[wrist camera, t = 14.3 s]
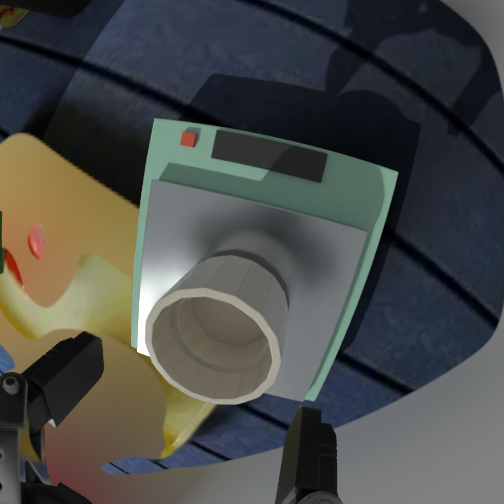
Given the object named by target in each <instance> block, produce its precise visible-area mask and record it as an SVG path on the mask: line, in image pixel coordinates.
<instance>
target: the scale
mask: <svg viewBox="0 0 504 504" xmlns="http://www.w3.org/2000/svg"><path fill="white" fill-rule="evenodd" d="M397 177H398V172H397V171H394V170H391V169H388V168H385V167H382V166H379V165H376V164H373V163H370V162H367V161H363V160H360V159H357V158H353V157H350V156H347V155H343V154H340V153H336V152H332V151H329V150H325V149H321V148H318V147H314V146H310V145H306V144H302V143H298V142H293V141H289V140H285V139H280V138H276V137H271V136H266V135H262V134H257V133H252V132H247V131H241V130H236V129H230V128H224V127H218V126H212V125H206V124H199V123H192V122H185V121H177V120H169V119H160V118H155V120H154V124H153V129H152V134H151V140H150V145H149V151H148V156H147V162H146V168H145V174H144V181H143V188H142V195H141V202H140V210H139V219H138V228H137V237H136V248H135V260H134V275H133V292H132V319H131V346H132V347H134V348H137V349H138V315H139V295H140V279H141V266H142V255H143V245H144V235H145V226H146V218H147V210H148V203H149V196H150V189H151V182H152V179H158V178H159V179H164V180H169V181H174V182H178V183H183V184H188V185H193V186H197V187H202V188H207V189H211V190H216V191H220V192H224V193H229V194H233V195H238V196H242V197H246V198H250V199H254V200H259V201H263V202H267V203H271V204H275V205H279V206H283V207H287V208H291V209H295V210H298V211H302V212H306V213H310V214H314V215H317V216H321V217H325V218H328V219H332V220H336V221H339V222H343V223H347V224H350V225H354V226H357V227H361V228H364V229H366V230H367V232H368V234H367V238H366V241H365V244H364V247H363V251H362V254H361V257H360V260H359V263H358V266H357V269H356V272H355V275H354V278H353V281H352V283H351V286H350V289H349V292H348V295H347V297H346V300H345V303H344V306H343V308H342V311H341V314H340V316H339V319H338V321H337V324H336V327H335V329H334V332H333V334H332V337H331V339H330V342H329V344H328V347H327V349H326V351H325V354H324V356H323V358H322V361H321V363H320V365H319V368H318V370H317V372H316V375H315V377H314V379H313V381H312V384H311V386H310V388H309V390H308V392H307V394H306V397H305V399H306V400H310V401H315V400H316V398H317V396H318V393H319V391H320V389H321V387H322V385H323V383H324V381H325V379H326V377H327V375H328V372H329V370H330V368H331V366H332V364H333V361H334V359H335V357H336V355H337V352H338V350H339V348H340V346H341V343H342V341H343V338H344V336H345V334H346V331H347V329H348V326H349V324H350V322H351V319H352V316H353V314H354V311H355V309H356V306H357V304H358V301H359V298H360V296H361V293H362V290H363V288H364V285H365V282H366V279H367V276H368V274H369V271H370V268H371V265H372V262H373V259H374V256H375V253H376V250H377V247H378V244H379V241H380V237H381V234H382V231H383V228H384V224H385V221H386V217H387V214H388V211H389V207H390V203H391V200H392V196H393V192H394V188H395V185H396V181H397Z"/></svg>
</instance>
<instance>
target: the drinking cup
mask: <svg viewBox="0 0 504 504" xmlns="http://www.w3.org/2000/svg"><path fill="white" fill-rule="evenodd" d="M89 1H90V0H0V5H4V6H10V7H15V8H21V9H26V10H30V11H35V12H39V13H43V14H48V15H52V16H55V17H59V18H63V19H66V18H70V17H72V16H74V15H76V14H77V13H78V12H80V11H81V10H82V9H83V8H84V7H85V6H86V5H87V4H88V2H89Z"/></svg>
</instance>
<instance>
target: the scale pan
mask: <svg viewBox="0 0 504 504" xmlns="http://www.w3.org/2000/svg"><path fill="white" fill-rule="evenodd" d="M367 234H368V232H367V230H366V229H364V228H361V227H357V226H354V225H350V224H347V223H343V222H339V221H336V220H332V219H328V218H325V217H321V216H317V215H314V214H310V213H306V212H302V211H298V210H295V209H291V208H287V207H283V206H279V205H275V204H271V203H267V202H263V201H259V200H254V199H250V198H246V197H242V196H238V195H233V194H229V193H224V192H220V191H216V190H211V189H207V188H202V187H197V186H193V185H188V184H183V183H178V182H174V181H169V180H164V179H159V178H158V179H152V182H151V189H150V196H149V203H148V210H147V218H146V226H145V235H144V245H143V255H142V266H141V279H140V295H139V315H138V352H139V353H142V354H144V355H147V356H150V355H149V353H148V350H147V347H146V345H145V321H146V319H147V317H148V315H149V313H150V312H151V310H152V308H153V307H154V305H155V303H156V302H157V301H158V300H159V299H160V298H161V297H162V296H163V295H164V294H165V293H166V292H167V291H168V290H169V289H170V288H171V287H172V286H173V285H174V284H176V283H177V282H178V281H179V280H180V279H181V278H182V277H183V276H184V275H185V274H186V273H187V272H188V271H189V270H190V269H192V268H193V267H194V266H196V265H198V264H199V263H201V262H203V261H204V260H206V259H209V258H211V257H219V256H227V255H233V256H237V257H241V258H245V259H248V260H252V261H254V262H256V263H257V264H259V265H260V266H262V267H263V268H264V269H266V270H267V271H268V272H270V273H271V274H273V276H274V277H275V278H276V280H277V281H278V283H279V284H280V286H281V288H282V289H283V291H284V292H285V295H286V299H287V306H288V313H289V315H288V323H287V331H286V338H285V345H284V352H283V358H282V364H281V367H280V369H279V372H278V375H277V378H276V380H275V382H274V384H273V385H272V386H270V387H269V388H268V389H267V390H266V391H265V392H264V393H266V394H270V395H274V396H279V397H283V398H287V399H292V400H296V401H301V402H303V401H304V399H305V397H306V394H307V392H308V390H309V388H310V386H311V384H312V381H313V379H314V377H315V375H316V372H317V370H318V368H319V365H320V363H321V361H322V358H323V356H324V354H325V351H326V349H327V347H328V344H329V342H330V339H331V337H332V334H333V332H334V329H335V327H336V324H337V321H338V319H339V316H340V314H341V311H342V308H343V306H344V303H345V300H346V297H347V295H348V292H349V289H350V286H351V283H352V281H353V278H354V275H355V272H356V269H357V266H358V263H359V260H360V257H361V254H362V251H363V247H364V244H365V241H366V238H367Z"/></svg>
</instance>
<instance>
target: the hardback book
mask: <svg viewBox="0 0 504 504" xmlns="http://www.w3.org/2000/svg"><path fill="white" fill-rule="evenodd" d="M1 233H2V212H1V211H0V274H2V273H3V269H2V244H1V243H2V234H1Z"/></svg>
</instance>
